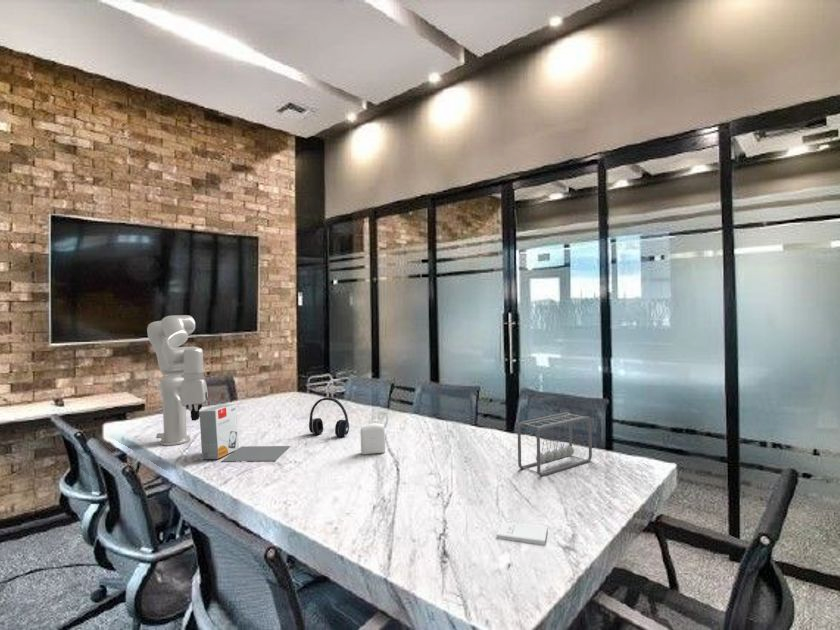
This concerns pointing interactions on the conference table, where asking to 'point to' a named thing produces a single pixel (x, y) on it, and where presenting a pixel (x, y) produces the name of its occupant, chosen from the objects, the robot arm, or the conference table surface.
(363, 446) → the photo printer
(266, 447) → the rubber mat
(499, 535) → the external hard drive
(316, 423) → the headphones
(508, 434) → the conference table surface
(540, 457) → the newton's cradle
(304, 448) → the conference table surface
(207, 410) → the hard drive box
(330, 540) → the conference table surface
